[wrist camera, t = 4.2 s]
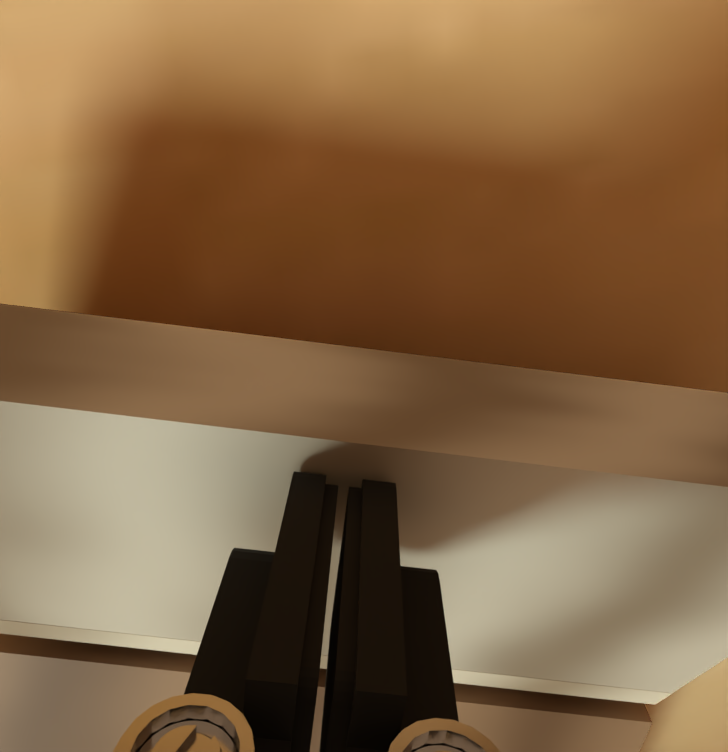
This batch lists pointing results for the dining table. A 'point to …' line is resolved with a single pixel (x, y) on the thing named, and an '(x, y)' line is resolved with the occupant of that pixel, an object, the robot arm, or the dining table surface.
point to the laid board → (172, 671)
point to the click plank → (348, 469)
